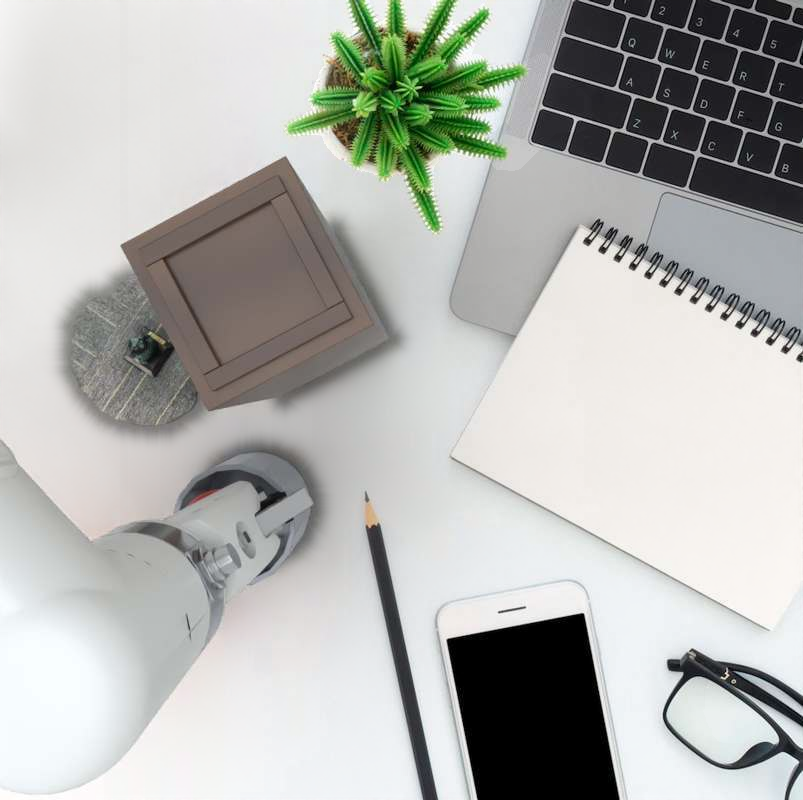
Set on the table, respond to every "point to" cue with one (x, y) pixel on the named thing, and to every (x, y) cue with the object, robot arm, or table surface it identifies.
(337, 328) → the crate
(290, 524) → the steel cup
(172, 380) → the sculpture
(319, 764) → the table surface
